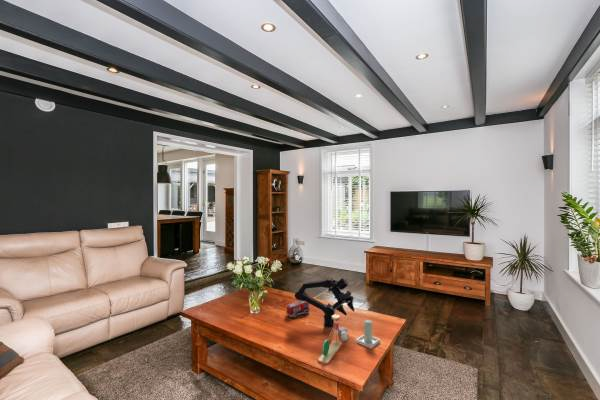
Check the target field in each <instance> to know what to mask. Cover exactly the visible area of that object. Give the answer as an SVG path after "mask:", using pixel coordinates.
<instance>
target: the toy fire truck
mask: <svg viewBox="0 0 600 400" xmlns="http://www.w3.org/2000/svg"><path fill="white" fill-rule="evenodd" d="M309 305H310V304H309V303H308V302H306V301H300V300H298V301H296V302H293V303H289V304H287V305H286V315H287V316H289V317H290V318H292V317H293V319H297V317H298V316H299V315H303V314H304V316H308V314H309V313H310V312H311V311H310V307H309Z"/></svg>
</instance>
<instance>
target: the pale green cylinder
mask: <svg viewBox="0 0 600 400" xmlns="http://www.w3.org/2000/svg"><path fill="white" fill-rule="evenodd" d="M363 335H364V342H365V343H372V336H373V321H372V320H370V319H365V320H364V321H363Z"/></svg>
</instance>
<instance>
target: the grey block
mask: <svg viewBox="0 0 600 400" xmlns="http://www.w3.org/2000/svg"><path fill="white" fill-rule="evenodd" d="M342 331H346V332H348V329H347V328H346V326H341V327H339V326H338V330H337V333H338V334H337V335H339V337H341V332H342Z"/></svg>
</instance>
